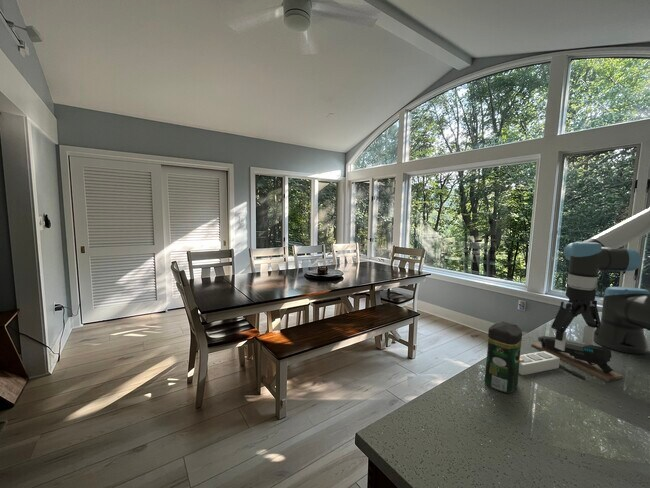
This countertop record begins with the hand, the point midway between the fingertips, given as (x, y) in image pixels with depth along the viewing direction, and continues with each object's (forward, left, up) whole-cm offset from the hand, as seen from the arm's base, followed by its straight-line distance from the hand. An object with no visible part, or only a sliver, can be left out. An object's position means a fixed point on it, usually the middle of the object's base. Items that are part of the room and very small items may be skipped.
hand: (573, 346), depth 100 cm
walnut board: (0, 0, -5) cm, 5 cm away
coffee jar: (+37, +4, -5) cm, 38 cm away
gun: (0, 0, -4) cm, 4 cm away
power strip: (+17, +4, -5) cm, 18 cm away
